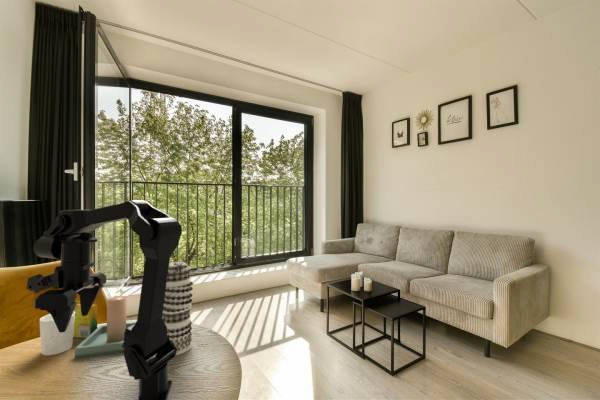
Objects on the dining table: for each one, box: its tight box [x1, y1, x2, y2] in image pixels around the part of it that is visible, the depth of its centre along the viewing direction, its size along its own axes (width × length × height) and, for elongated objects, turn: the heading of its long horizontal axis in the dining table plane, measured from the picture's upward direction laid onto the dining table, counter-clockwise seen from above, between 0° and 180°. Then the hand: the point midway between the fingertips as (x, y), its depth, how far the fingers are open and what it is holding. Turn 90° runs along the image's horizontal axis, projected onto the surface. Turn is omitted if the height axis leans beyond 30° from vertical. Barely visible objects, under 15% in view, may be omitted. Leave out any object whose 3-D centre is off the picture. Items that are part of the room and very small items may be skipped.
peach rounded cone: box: [106, 295, 127, 343], centre depth 85 cm, size 5×5×12 cm
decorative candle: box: [162, 261, 194, 356], centre depth 81 cm, size 9×9×25 cm
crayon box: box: [73, 300, 98, 339], centre depth 89 cm, size 7×3×12 cm, turn 81°
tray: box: [74, 321, 136, 359], centre depth 85 cm, size 15×15×3 cm
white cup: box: [39, 311, 75, 357], centre depth 80 cm, size 8×8×10 cm
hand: (74, 323), depth 67 cm, fingers open, 9 cm apart
